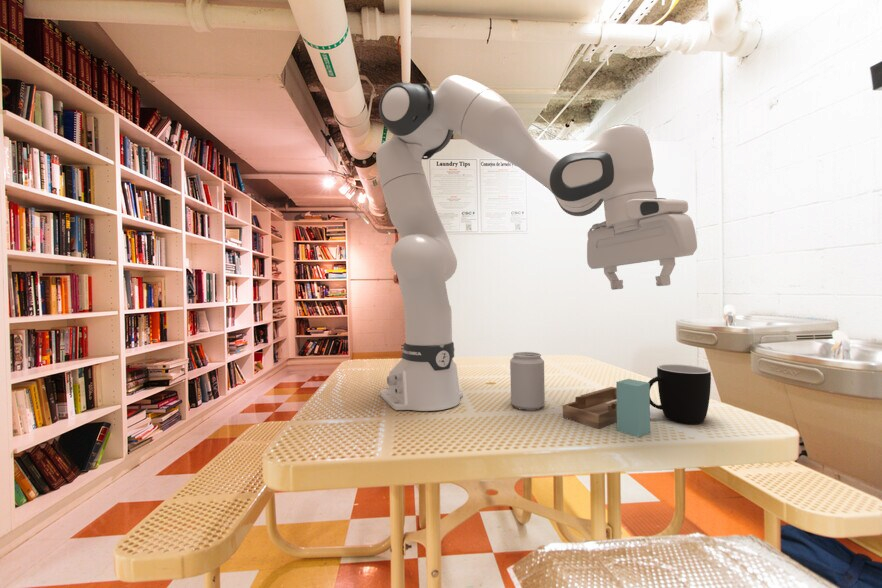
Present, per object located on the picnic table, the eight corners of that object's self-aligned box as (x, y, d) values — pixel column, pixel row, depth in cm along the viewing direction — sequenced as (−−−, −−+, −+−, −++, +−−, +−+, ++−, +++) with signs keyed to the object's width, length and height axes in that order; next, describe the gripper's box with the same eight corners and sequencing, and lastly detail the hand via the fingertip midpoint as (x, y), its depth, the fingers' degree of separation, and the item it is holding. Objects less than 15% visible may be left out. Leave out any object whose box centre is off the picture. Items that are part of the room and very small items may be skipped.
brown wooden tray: (562, 417, 76) (562, 400, 76) (612, 401, 87) (612, 386, 87) (598, 428, 70) (598, 410, 70) (647, 410, 80) (647, 393, 80)
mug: (691, 411, 79) (690, 363, 79) (723, 426, 70) (722, 372, 70) (634, 412, 79) (633, 364, 79) (658, 427, 70) (658, 373, 70)
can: (548, 411, 80) (547, 355, 80) (513, 411, 81) (512, 356, 80) (540, 401, 88) (539, 350, 88) (508, 401, 88) (507, 350, 88)
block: (617, 430, 69) (616, 381, 69) (628, 425, 71) (628, 378, 71) (638, 437, 66) (638, 386, 65) (650, 432, 68) (649, 382, 68)
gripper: (576, 226, 78) (583, 292, 77) (674, 198, 59) (683, 284, 59) (598, 226, 80) (604, 289, 80) (697, 199, 62) (707, 281, 62)
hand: (639, 287), depth 69 cm, fingers open, 8 cm apart
